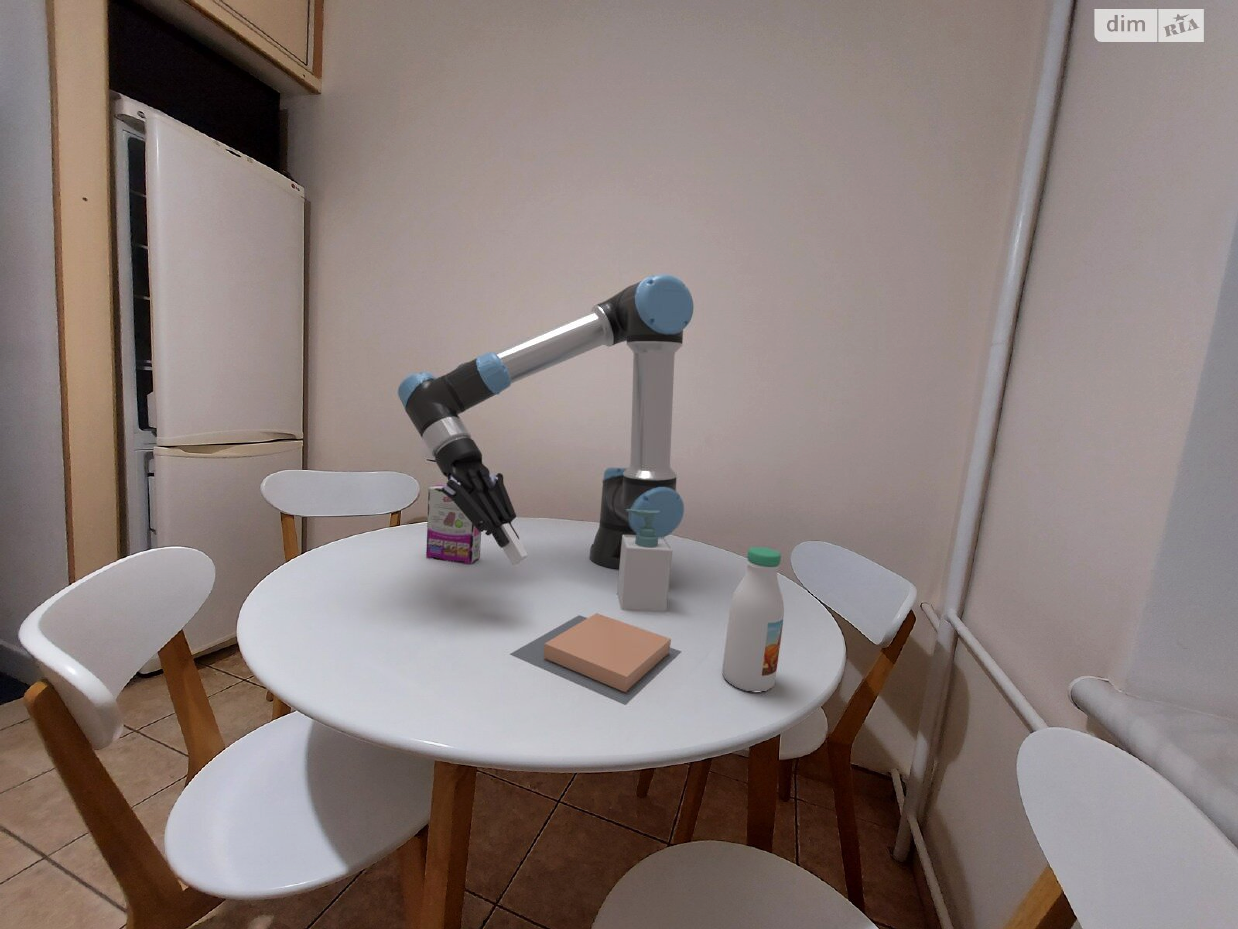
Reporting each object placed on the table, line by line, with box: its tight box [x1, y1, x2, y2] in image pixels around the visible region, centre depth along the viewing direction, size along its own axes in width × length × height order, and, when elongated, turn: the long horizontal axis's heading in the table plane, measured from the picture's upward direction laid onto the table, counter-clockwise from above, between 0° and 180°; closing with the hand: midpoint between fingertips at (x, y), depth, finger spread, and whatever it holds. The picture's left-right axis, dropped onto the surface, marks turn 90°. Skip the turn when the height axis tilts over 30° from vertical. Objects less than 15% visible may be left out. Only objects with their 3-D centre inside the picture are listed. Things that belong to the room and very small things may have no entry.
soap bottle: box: [616, 509, 673, 613], centre depth 100 cm, size 9×9×19 cm
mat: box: [509, 614, 682, 706], centre depth 79 cm, size 20×18×1 cm
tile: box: [543, 612, 672, 692], centre depth 78 cm, size 2×14×14 cm
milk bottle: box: [721, 546, 785, 692], centre depth 76 cm, size 8×8×20 cm
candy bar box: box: [425, 484, 482, 565], centre depth 117 cm, size 11×5×16 cm, turn 81°
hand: (520, 560), depth 86 cm, fingers closed
